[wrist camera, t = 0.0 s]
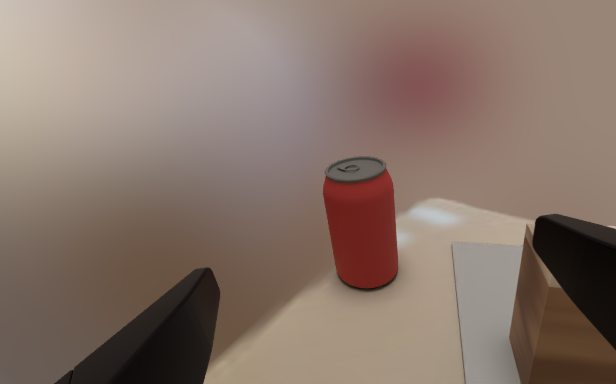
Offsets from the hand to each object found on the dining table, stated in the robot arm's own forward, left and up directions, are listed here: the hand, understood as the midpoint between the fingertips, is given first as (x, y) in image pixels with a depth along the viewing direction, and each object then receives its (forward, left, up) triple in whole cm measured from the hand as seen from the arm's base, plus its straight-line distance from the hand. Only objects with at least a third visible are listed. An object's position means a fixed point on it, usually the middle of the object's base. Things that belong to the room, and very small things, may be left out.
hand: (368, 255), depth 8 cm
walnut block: (+6, -12, -16) cm, 21 cm away
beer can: (+19, -2, -17) cm, 25 cm away
